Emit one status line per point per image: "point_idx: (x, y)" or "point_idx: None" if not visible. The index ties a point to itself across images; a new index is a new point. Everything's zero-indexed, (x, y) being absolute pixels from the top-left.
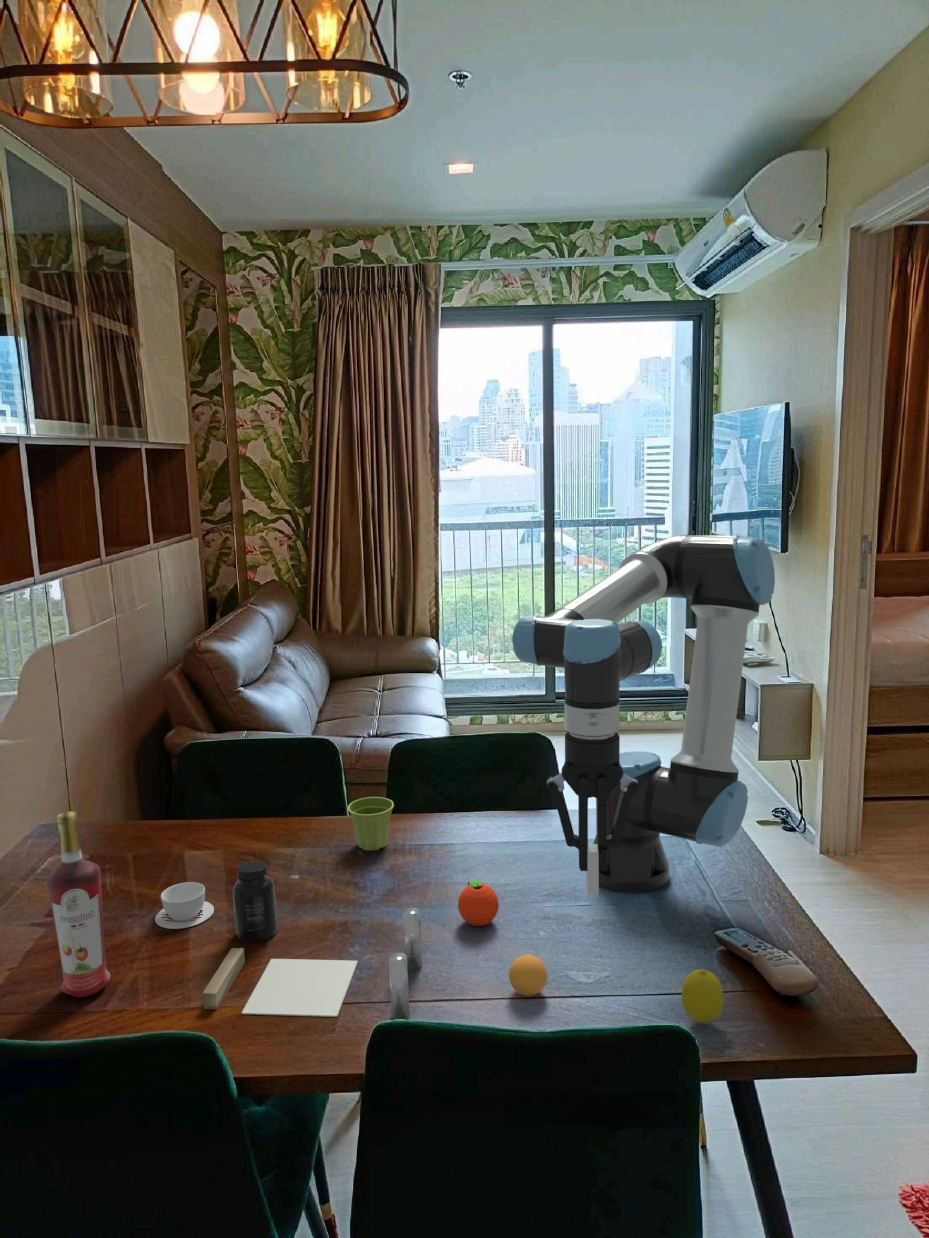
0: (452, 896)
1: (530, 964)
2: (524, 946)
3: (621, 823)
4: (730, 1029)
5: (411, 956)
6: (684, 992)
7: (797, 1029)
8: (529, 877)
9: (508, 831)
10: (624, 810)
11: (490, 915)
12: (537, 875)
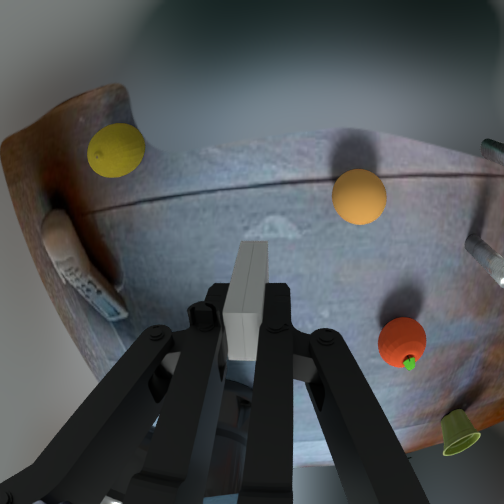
0: None
1: (362, 191)
2: (350, 286)
3: (107, 388)
4: None
5: (483, 241)
6: (133, 140)
7: (52, 153)
8: None
9: None
10: (74, 430)
11: (390, 326)
12: None
